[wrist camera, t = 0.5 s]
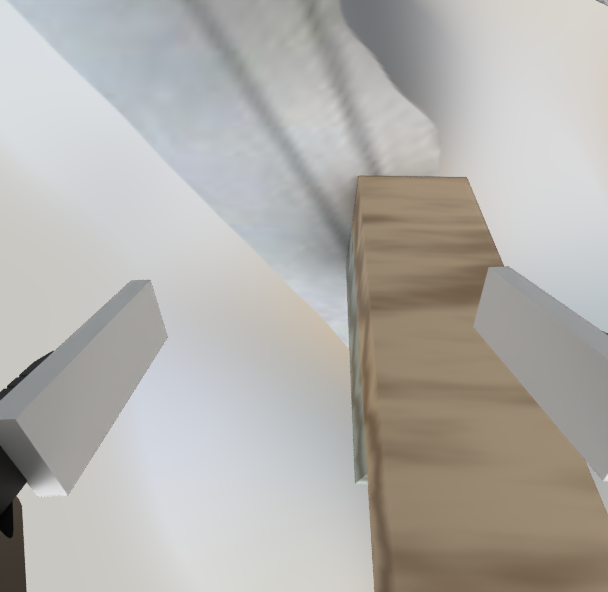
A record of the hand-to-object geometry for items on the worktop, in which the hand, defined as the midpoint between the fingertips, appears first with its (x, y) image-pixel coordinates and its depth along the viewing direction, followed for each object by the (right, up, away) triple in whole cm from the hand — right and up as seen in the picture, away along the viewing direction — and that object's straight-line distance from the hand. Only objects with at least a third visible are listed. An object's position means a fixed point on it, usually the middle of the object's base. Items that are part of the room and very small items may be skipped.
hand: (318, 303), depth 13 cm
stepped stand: (+10, +8, +22) cm, 25 cm away
